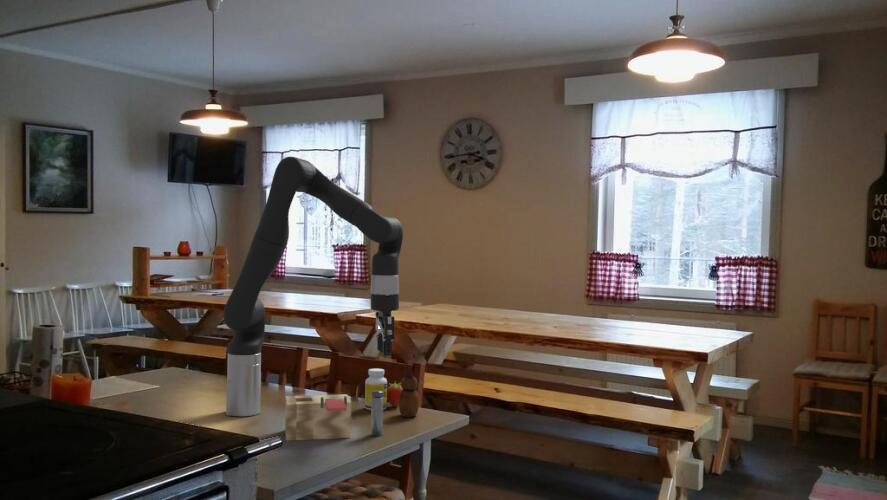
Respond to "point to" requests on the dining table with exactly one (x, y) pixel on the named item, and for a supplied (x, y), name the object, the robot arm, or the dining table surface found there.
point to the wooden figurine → (408, 395)
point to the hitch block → (316, 418)
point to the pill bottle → (375, 387)
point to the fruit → (394, 394)
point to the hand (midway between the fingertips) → (384, 353)
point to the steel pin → (377, 413)
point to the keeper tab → (335, 405)
